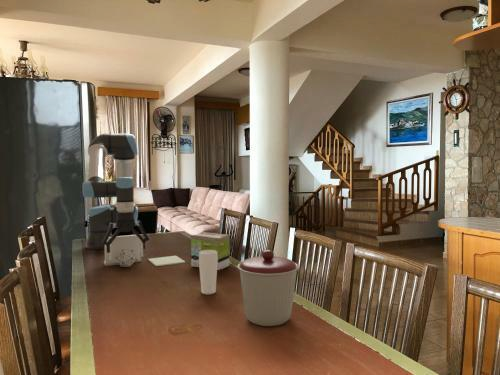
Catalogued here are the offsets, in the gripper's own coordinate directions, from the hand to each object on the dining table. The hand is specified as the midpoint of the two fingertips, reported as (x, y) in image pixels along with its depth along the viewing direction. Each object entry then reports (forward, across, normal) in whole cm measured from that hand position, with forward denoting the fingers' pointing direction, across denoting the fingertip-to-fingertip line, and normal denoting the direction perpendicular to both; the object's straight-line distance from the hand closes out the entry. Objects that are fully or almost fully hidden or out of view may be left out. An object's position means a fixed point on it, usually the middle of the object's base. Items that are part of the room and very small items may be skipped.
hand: (126, 258), depth 178 cm
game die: (+4, 0, 0) cm, 5 cm away
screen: (+4, 0, +10) cm, 11 cm away
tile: (+4, +19, +2) cm, 20 cm away
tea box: (+5, +34, -17) cm, 38 cm away
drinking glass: (+5, +19, -51) cm, 54 cm away
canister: (+5, +25, -83) cm, 87 cm away
